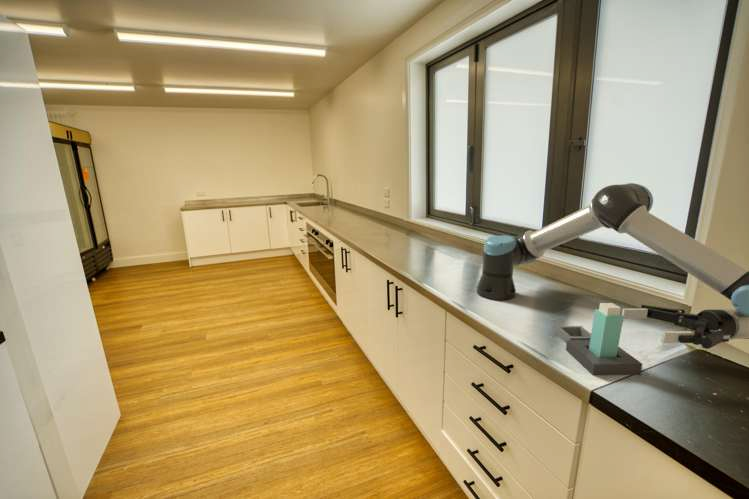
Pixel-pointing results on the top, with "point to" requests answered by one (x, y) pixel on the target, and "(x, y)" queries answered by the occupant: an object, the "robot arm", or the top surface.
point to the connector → (606, 330)
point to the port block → (603, 360)
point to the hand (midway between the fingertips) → (641, 324)
